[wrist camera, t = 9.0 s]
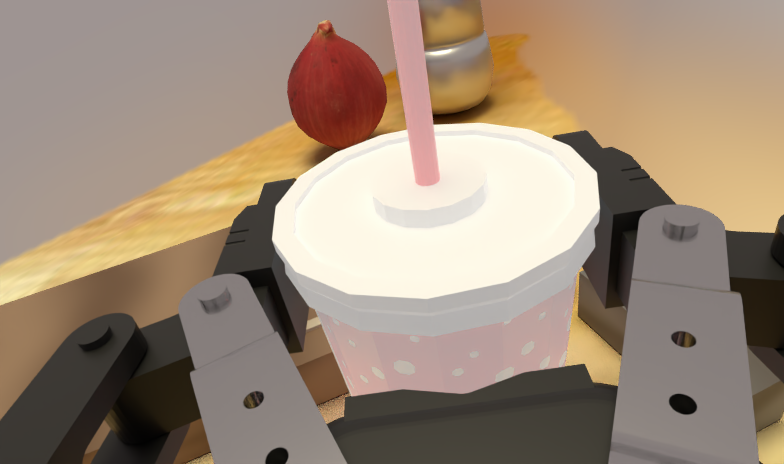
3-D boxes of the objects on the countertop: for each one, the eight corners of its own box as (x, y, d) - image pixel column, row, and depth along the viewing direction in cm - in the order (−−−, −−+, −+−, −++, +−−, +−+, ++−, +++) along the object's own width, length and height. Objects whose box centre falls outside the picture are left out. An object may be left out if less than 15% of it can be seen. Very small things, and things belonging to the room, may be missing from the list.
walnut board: (-220, 974, 9) (-332, 971, 8) (-1, 348, 23) (-30, 313, 22) (780, 418, 14) (801, 366, 13) (474, 177, 28) (471, 141, 27)
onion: (293, 176, 32) (252, 42, 27) (320, 135, 36) (288, 14, 32) (386, 170, 31) (358, 28, 26) (402, 128, 35) (380, 1, 31)
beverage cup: (632, 517, 13) (765, -200, 5) (402, 625, 12) (139, -79, 4) (509, 350, 18) (485, -146, 10) (339, 416, 17) (165, -84, 9)
